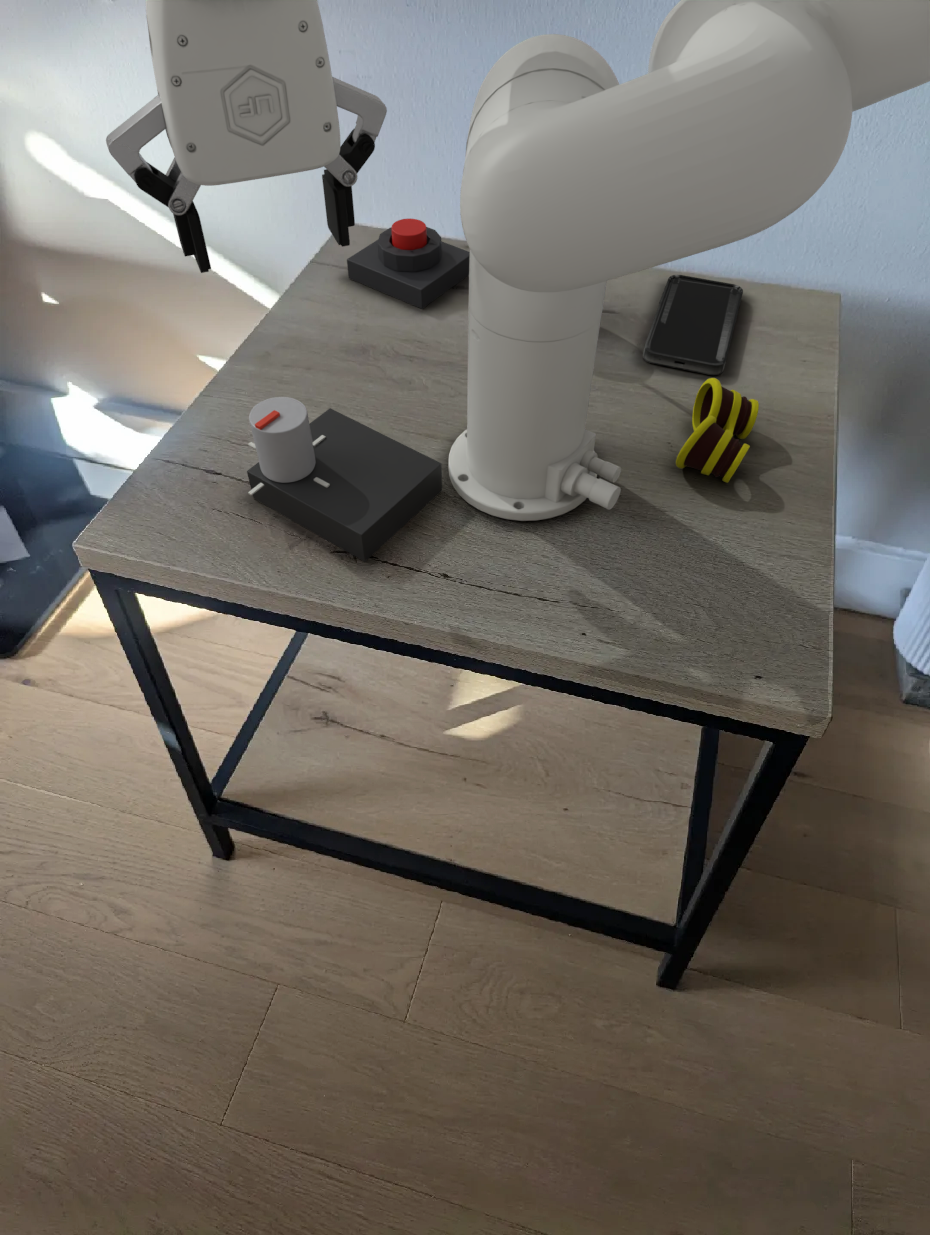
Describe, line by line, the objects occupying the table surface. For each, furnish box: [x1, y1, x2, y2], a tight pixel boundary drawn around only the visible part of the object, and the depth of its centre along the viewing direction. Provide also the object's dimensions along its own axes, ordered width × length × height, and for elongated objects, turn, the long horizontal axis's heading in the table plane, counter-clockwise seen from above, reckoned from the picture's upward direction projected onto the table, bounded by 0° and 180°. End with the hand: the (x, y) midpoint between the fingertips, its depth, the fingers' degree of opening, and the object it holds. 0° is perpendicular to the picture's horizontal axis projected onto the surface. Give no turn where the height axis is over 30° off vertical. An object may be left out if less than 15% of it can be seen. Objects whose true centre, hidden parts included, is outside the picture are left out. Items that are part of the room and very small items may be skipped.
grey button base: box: [346, 226, 470, 310], centre depth 92 cm, size 10×9×4 cm
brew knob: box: [248, 396, 316, 483], centre depth 67 cm, size 4×4×5 cm
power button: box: [390, 218, 427, 250], centre depth 90 cm, size 4×4×2 cm
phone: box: [642, 274, 744, 376], centre depth 87 cm, size 8×1×15 cm
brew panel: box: [246, 407, 443, 563], centre depth 70 cm, size 14×12×3 cm
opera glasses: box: [675, 377, 760, 484], centre depth 74 cm, size 10×5×5 cm, turn 160°
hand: (271, 249), depth 60 cm, fingers open, 9 cm apart
